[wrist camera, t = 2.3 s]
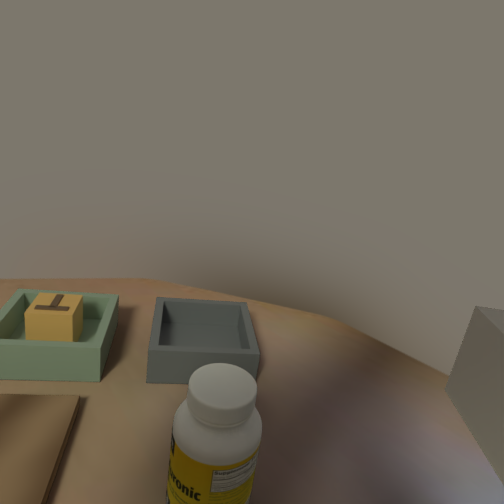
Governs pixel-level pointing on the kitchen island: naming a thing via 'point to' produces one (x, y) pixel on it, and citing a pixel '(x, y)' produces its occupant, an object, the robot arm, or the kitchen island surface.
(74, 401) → the walnut pad
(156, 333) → the charcoal bin
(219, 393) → the supplement bottle
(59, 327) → the marked cube
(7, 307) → the sage bin
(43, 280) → the kitchen island surface
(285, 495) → the kitchen island surface
